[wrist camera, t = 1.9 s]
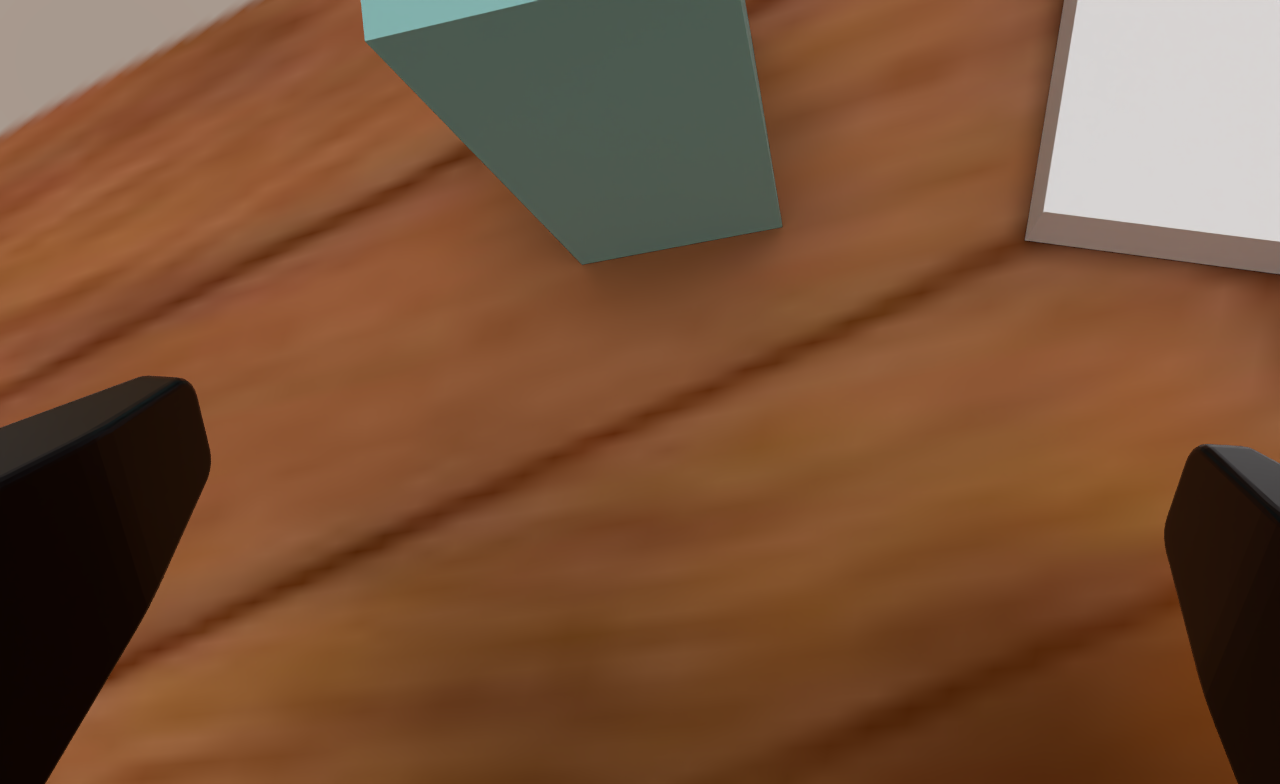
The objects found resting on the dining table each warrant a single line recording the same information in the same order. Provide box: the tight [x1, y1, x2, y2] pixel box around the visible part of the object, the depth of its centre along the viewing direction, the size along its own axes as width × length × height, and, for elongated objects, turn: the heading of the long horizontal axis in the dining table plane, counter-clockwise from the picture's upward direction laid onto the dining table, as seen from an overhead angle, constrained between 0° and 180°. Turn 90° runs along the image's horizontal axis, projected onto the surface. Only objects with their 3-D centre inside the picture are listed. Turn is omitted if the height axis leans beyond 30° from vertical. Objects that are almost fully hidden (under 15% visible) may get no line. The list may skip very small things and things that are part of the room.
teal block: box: [361, 0, 782, 265], centre depth 18 cm, size 5×5×11 cm
